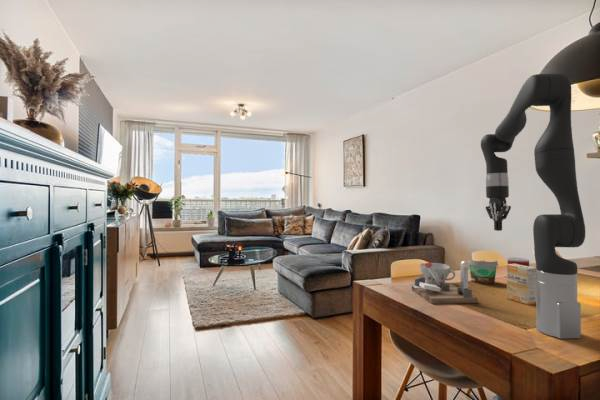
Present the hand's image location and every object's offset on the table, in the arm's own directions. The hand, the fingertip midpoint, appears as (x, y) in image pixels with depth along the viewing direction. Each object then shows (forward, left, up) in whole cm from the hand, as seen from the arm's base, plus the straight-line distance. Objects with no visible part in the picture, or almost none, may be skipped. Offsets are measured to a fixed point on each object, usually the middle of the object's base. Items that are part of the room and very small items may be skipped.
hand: (498, 230), depth 128 cm
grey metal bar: (-4, +16, -23) cm, 28 cm away
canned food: (+18, -21, -26) cm, 38 cm away
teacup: (+21, +14, -26) cm, 36 cm away
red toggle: (+5, +19, -23) cm, 30 cm away
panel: (+3, +21, -26) cm, 33 cm away
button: (+10, +27, -23) cm, 37 cm away
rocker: (+1, +26, -22) cm, 35 cm away
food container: (+20, -7, -26) cm, 33 cm away
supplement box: (-6, -5, -26) cm, 27 cm away
